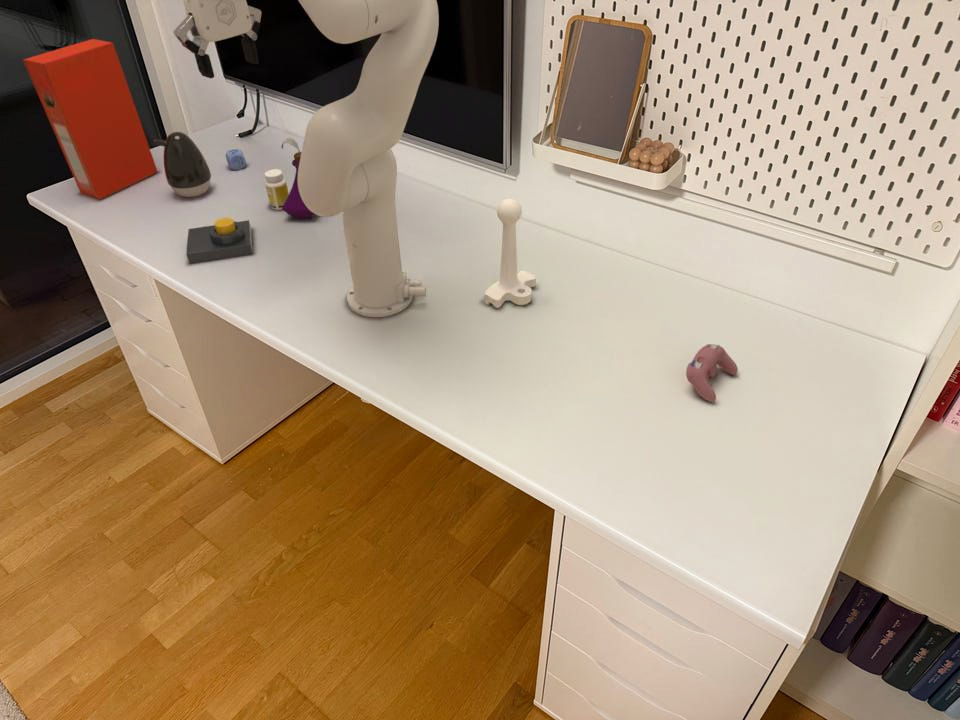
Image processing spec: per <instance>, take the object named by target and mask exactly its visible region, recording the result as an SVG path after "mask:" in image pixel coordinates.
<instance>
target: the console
mask: <svg viewBox="0 0 960 720" xmlns="http://www.w3.org/2000/svg"><path fill="white" fill-rule="evenodd" d="M234 223H235V227H236V230H235V231H234V232H232V233H230V234H225V235H221V234H217V232H216V228H215V225H214V224H213V225H207V226H206V225H205V226H200V227H193V228H188V231H187V232H188V233H187V243H186V252H185V254H186V257H187V260H188V261H187V262H188V263H189V264H190V265H192V264H198V263H199V264H200V263H206V262H212V261H218V260H225V259H232V258H238V257H243V256H250V255H251V256H252V255H254V248H253V232H252V231H253V230H252V226H251V223H250V219H248V220H242V221H234Z"/></svg>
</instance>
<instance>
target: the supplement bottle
mask: <svg viewBox="0 0 960 720" xmlns="http://www.w3.org/2000/svg"><path fill="white" fill-rule="evenodd" d="M264 178H265V182H264V183H265V184H264V185H265V189H266V194H267V197H268V201H269V205H270V208H271V209H273V210H275V211H282V207H283V205H284V203H285V201H286V199H287V197H288V195H289V193H290V192H289V189H288V185H287V180H286V178H285V177H284V174H283V171H282V170H281V169H279V168H274V169H273V168H272V169H269V170H267V171H265V172H264Z"/></svg>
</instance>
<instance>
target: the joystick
mask: <svg viewBox="0 0 960 720" xmlns="http://www.w3.org/2000/svg"><path fill="white" fill-rule="evenodd" d="M522 214H523V210H522V205H521V204H520V203H519V201H518V200H516V199H514V198H505V199H503V200H502V201H500V203H498V206H497V209H496V215H497V218H498V219H499V221H500V222H501V223H502V235H501V236H502V237H501V252H500V253H501V255H500V270H499V271H500V273H499V280H497V281H495V282H494V283H493V284H492V285H490V286H489V287H488V288H487V289H486V290H485V292H484V304H485V305H487V306H490V305H491V304H492V305H493V307H494V308H497V309H498V308H501V306H502V305H503V304H504V303H505V302H506V301H507V302H508V301H511V302H512V303H513V304H515V305H516V306H517V305H518V306H525V305H527V304H529V303H530V302H531V301H532V298H533V295H532V294H533V289H532V288H534V287H536V285H537V276H536V275H534V274H532V273H530V272H528V271H526V270H520V271H518V254H517V253H518V252H517V230H516V229H517V228H516V227H517V225H516V224H517V222H518V221H519V220H520V219H521V217H522Z"/></svg>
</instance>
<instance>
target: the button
mask: <svg viewBox="0 0 960 720" xmlns="http://www.w3.org/2000/svg"><path fill="white" fill-rule="evenodd" d="M213 225H215V228H216V232H217V234H221V235H225V234H230V233H232V232H234V231H235V230H236V227H235V223H234V219H233V218H231V217H222V218H218V219H217V220H215V221H214V223H213Z"/></svg>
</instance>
